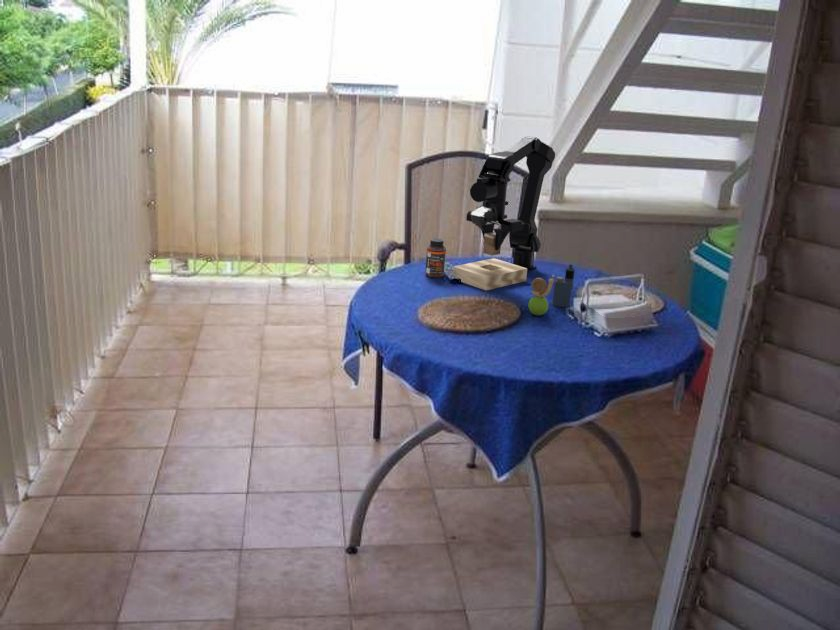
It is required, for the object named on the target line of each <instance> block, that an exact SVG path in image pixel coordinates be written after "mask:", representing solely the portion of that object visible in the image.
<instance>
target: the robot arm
mask: <svg viewBox="0 0 840 630" xmlns="http://www.w3.org/2000/svg"><path fill="white" fill-rule="evenodd" d="M524 158H526V159H525V160H526V161H525V165H526V167H527V170H528V176H527V181H526V185H525V190H524V193H523V199H522V204H521V209H520V213H519V217H518V218H517V219H516V218H508V214H505V212H506V206H508V205H509V201H507V200H506V199H507V189H508V187H507V186H508V183H509V182H511V178H510V177H509V175H510V174H511V173H512V172H513V171H514V170H515V165H516V164H517V163H519V162H520V161H521V160H522V159H524ZM555 158H556V153H555V150H554V149H553V147H552V146H550V145H548V144H547V143H544V142H543V141H541V140H540V138H538V137H534V136H527V135H526V136H523V137H522V138H521V139H520V140H519V141H518V142H516V143H514V145H512V146H510V147H509V148H506V150H504V151H499V152H498V151H496V152H494V153H491V154H489V155H488V156H487V157H486V159H485V161H484V163H483V165H482V167H481V170H480V172H479V174H478V177H477V178H476V182H474V183H473V184H472V185H471V187H470V189H469V194H470V197H471V199H472V200H473V201H475V202H477V203H481V202H482V206H481V207H478V208H476V209H475V210H469V211H468V212H467V214H466V221H467V222H471V223H472V224H473V225H475V226H476V227H477V228H479V229H480V231H481V234H482V238H483V239H484V238H485V236H484V235H485V233H490V232H495V233H496V239H495V250H499V248H500V246H501V247H502V245H503V243H504V241H505V240H506V238H507V236H508V239H509V241H508V242H509V248H511V249H514V254H513V261H512V262H513V263H512V264H514V265H518V266H521V267H524V268H527V271H528V270H529V271H530V270H534V269H537V268H538V267H537V265H534V259H535V253H538V252H539V251H540V249H541V245H542V243H541V241H540V239H539V237H538V227H537V224H536V221H535V220H536V214H537V210H538V206H539V201H540V197H541V192H542V187H543V183H544V178H545V175H546V174H547V173H548V172H549V171H551V169H552V166H553V163H554V161H555ZM495 225H497V228H495Z"/></svg>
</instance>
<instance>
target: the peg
mask: <svg viewBox="0 0 840 630" xmlns="http://www.w3.org/2000/svg"><path fill="white" fill-rule="evenodd" d="M484 236H485V238H483V251H482V253H483V254H486V255H488V256H493V257H494V256H496V255H500V254H501V247H502V245H501V246H500V248H499V250H495V239H496V233H495V232H494V231H493V232H490V233H485V235H484Z"/></svg>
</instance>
